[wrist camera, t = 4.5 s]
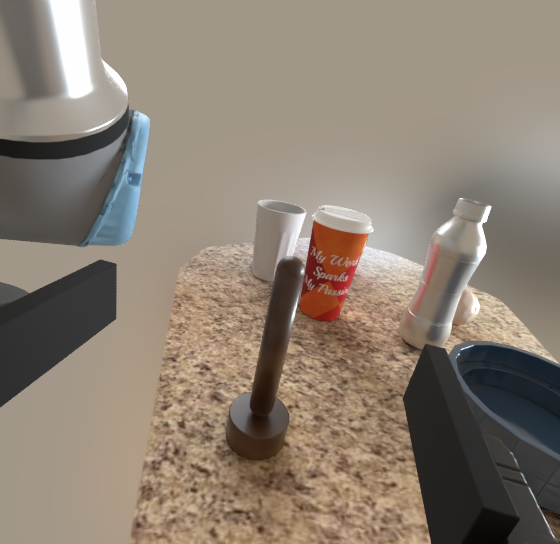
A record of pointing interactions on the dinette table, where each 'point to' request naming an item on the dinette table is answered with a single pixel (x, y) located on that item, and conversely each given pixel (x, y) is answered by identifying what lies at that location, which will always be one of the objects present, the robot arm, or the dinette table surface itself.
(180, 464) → the dinette table surface
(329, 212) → the coffee cup
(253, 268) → the cup
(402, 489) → the dinette table surface
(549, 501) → the bowl
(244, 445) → the wooden stamp handle
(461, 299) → the garlic bulb
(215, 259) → the dinette table surface
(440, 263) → the silver water bottle
